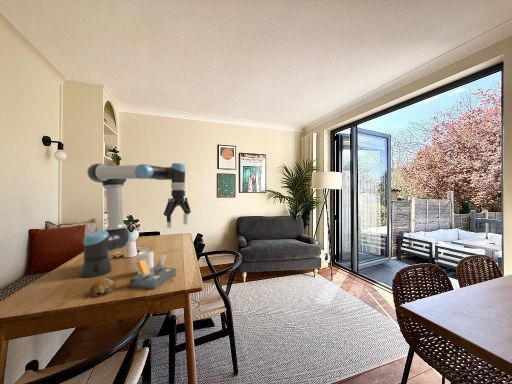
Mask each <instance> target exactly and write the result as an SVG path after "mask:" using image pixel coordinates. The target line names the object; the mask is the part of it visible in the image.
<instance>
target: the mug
mask: <svg viewBox="0 0 512 384" xmlns="http://www.w3.org/2000/svg"><path fill="white" fill-rule="evenodd" d="M136 259H137V262H139V261H142V260H144V259H145V260H146V263H147V266H148V268H149V269H150V268H152V267H154V251H153V250H143V251H142V250H141V251H139V252H138V253H137V255H136V256H134V257H133V258H132V260H131V261H130V263H131V264H130V266H131V267H132V269H134V270H136V271H137V275H138V274H140V271H139V268H138V267H134V265H133V262H134V260H136Z"/></svg>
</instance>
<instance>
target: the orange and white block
mask: <svg viewBox="0 0 512 384" xmlns="http://www.w3.org/2000/svg"><path fill="white" fill-rule="evenodd" d="M136 266H137V268H139V271H140V274H141V277H142V278H144V277H146V276H147V275H149V274H151V272H150V271H149V268H148V266H147V263H146V260H145V259H144V260H142V261H139V262H138V261H137V262H136Z"/></svg>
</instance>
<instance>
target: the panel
mask: <svg viewBox="0 0 512 384" xmlns="http://www.w3.org/2000/svg"><path fill="white" fill-rule="evenodd" d="M167 258H168V255H167V254H165V253H164V254H162V255H160V256H159V258H158V259H157V262H156V265H155V266H153V267H152V268H150V269H149V271H150V272H151V274H149V275H147V276H146V277H144V278H142V277H141V274H138V273H137V275H134V276H132V277H130V278H129V283H130V284H129V287H130V288H131V287H132V288H140V289H149V290H156V289H158V288H159V287H160V286H162V285H164V284H165V283H167V282H168V281H169V280H171V279H173V278H175V277H176V274H177V271H176V267H175V268H174V267H164V265H165V263H166V260H167Z"/></svg>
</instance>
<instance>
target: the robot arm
mask: <svg viewBox="0 0 512 384" xmlns="http://www.w3.org/2000/svg"><path fill="white" fill-rule="evenodd" d="M87 177H88V178H89V179H90V180H91V181H93V182H96V183H98V184H99V183H101V184H102V187H103V188H104V189H105V197H106V198H105V199H106V200H105V201H106V214H107V216H106V217H107V227H106V228H105V229H104V230H99V231H93V232H90V233H87V234H86V235H84V238H83V263H82V266H81V269H80V271H79V276H80V277H81V278H93V277H99V276H104V275H107V274H110V272H112V269H113V267H112V266H113V265H112V264H111V260H110V258H109V252H111V251H112V252H113V251H115V250H118V249H120V250H121V249H122V248H124V247H127V246H128V245H129V244H130V242H131V239H132V233H131V232H130V230H129V229H127V225H125V224H124V212H123V211H124V209H123V208H124V207H123V195H122V193H123V192H122V188H123V187H125V186H124V185H125V183H126V182H127V180H128V179H130V180H137V179H139V180H140V179H141V180H146V179H147V180H149V179H150V180H156V181H157V180H158V181H164V180H167V181H168V180H169V181H171V185H170V186H171V198H169V197H168V198H167V199H168V200H167V203H166V207H165V209H164V212H163V216H165V217H166V222H167V223H166V225H167V226H166V228H169V229H172V228H173V216H172V214H173V212H174V211H175V210H176V208H177V207H178V206H180V208H181V209H182V211H183V218H182V219H183V223H182V224H183V225H187V226H188V224H189V214H190V213H191V212H192V211H191V208H190V204H189V200H188V197H186V191H185V189H186V166H185V163H180V162H179V163H177V162H174V163H171V166H159V165H152V164H147V163H145V164H144V163H141V164H132V165H131V164H130V165H129V164H128V165H127V164H126V165H125V164H124V165H123V164H122V165H117V164H108V163H94V164H91V165H90V166H89V167H88V169H87Z"/></svg>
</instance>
